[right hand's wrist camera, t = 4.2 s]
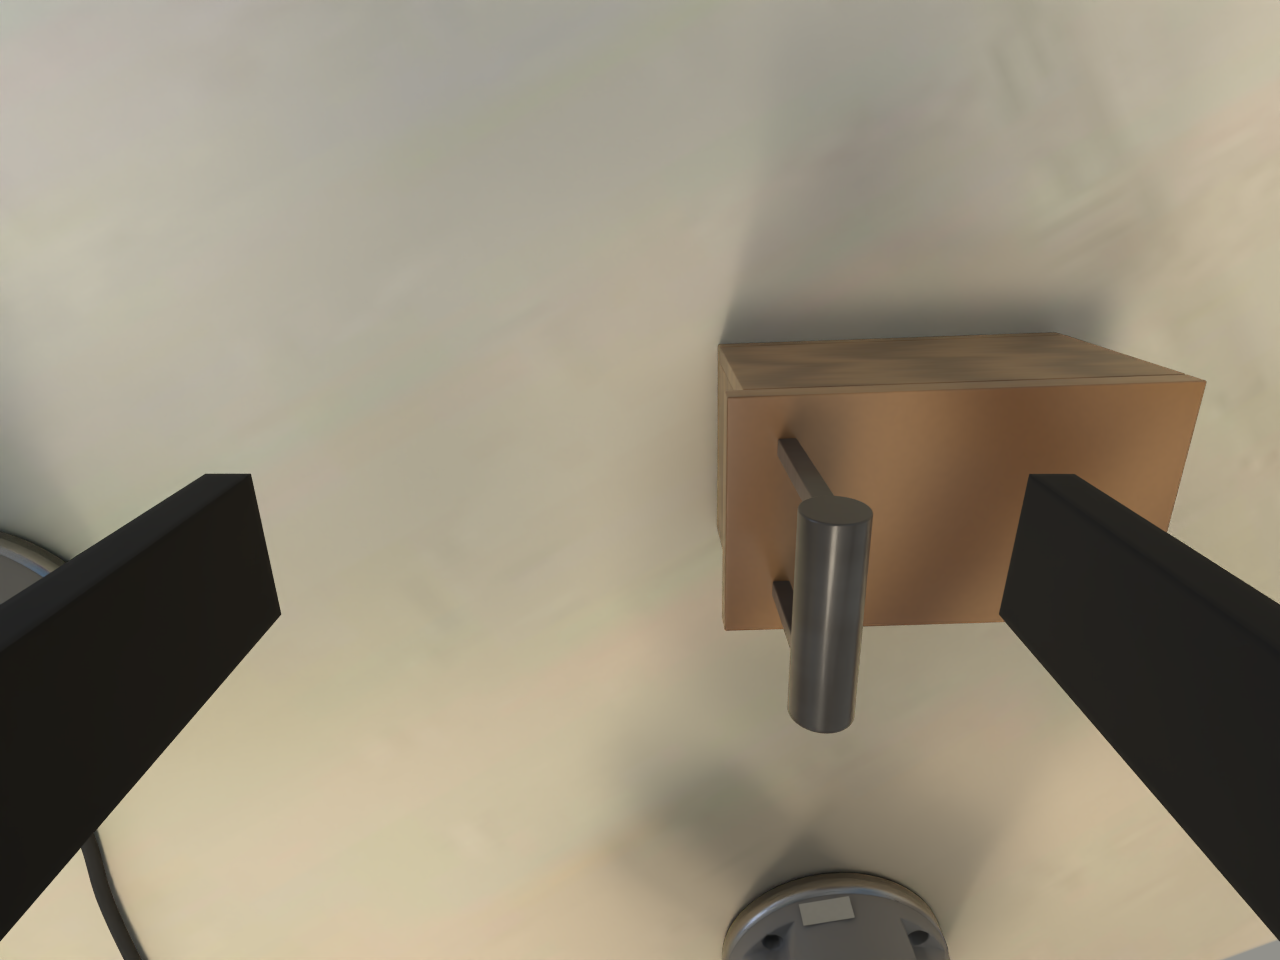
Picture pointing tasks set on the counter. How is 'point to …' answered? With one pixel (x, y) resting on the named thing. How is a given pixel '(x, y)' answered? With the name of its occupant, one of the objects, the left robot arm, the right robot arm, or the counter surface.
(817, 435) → the lid
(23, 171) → the counter surface
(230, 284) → the counter surface
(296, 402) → the counter surface
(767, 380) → the chest
